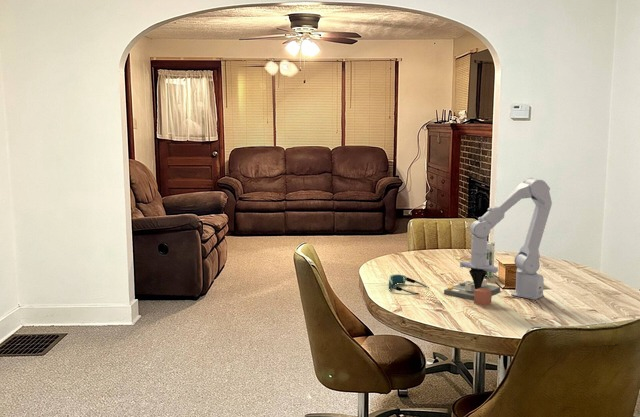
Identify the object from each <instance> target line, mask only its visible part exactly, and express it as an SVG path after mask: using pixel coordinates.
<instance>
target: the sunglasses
mask: <svg viewBox="0 0 640 417" xmlns="http://www.w3.org/2000/svg"><path fill="white" fill-rule="evenodd" d="M388 278H389V279H388V290H389V289H390V290H391V291H390V290H389V291H390V292H392V291H393V290H396V291H398V292H405V293H408V294H411V295H412V294H413V295H420V293H418V292H414V291H412V290H407V289H405V288H402V287H400V286H398V285H395V284H397V283H404V284H405V283H406V282H409V283H412V284H415V283H417V284H419V285H421V286H423V287H424V288H426V287H428V288H427V289H430V287H429V286H428V285H426V284H424V283H423V282H420V281H419V280H416V279H412V278H410V277H407V276H406V275H403V274H400V273H399V274H397V273H395V274H391V275H389V277H388Z"/></svg>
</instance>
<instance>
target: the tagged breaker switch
mask: <svg viewBox="0 0 640 417" xmlns="http://www.w3.org/2000/svg"><path fill="white" fill-rule="evenodd" d="M465 290H466V291H474V290H475V286H474V284H473V281H471V283H468V284H466V285H465Z"/></svg>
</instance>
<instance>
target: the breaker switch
mask: <svg viewBox="0 0 640 417" xmlns="http://www.w3.org/2000/svg"><path fill="white" fill-rule="evenodd" d="M487 280H488V279H486V278H485V277H484V279H483V282H482V285H481V287H484V286H486V285H488V284H487V283H488V282H487Z"/></svg>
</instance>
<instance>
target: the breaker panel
mask: <svg viewBox="0 0 640 417" xmlns="http://www.w3.org/2000/svg"><path fill="white" fill-rule="evenodd" d="M471 282H473V281H471V280H466V281H464V282H462V281H461V282H459V283H458V284H455V285H452V286H447V288H446V289H444V290H443V294H444V295H449V296H453V297H458V298H463V299H466V300H473V301H474V291H466V290H465V285H466V284H468V283H471ZM473 284H474V282H473ZM481 288H484V289H490V290H492V293H491V296H492V295H494V294H496V293H499V292H500V291H501V286H496V285H493V284H492V285H491V284H487V285H486V286H484V287H481ZM475 290H476V289H475Z"/></svg>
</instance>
